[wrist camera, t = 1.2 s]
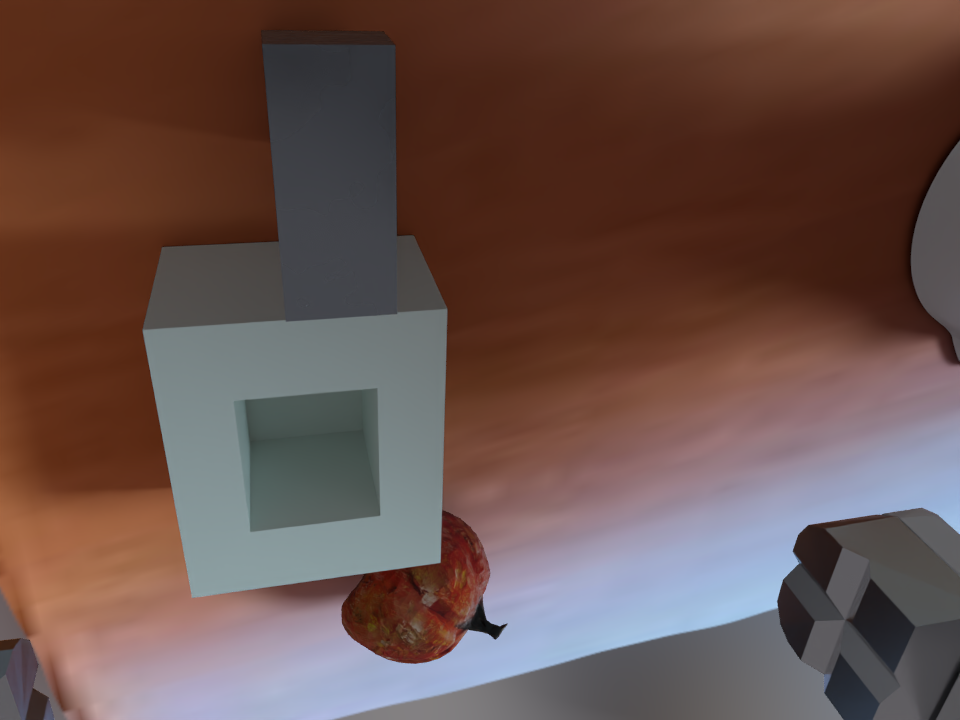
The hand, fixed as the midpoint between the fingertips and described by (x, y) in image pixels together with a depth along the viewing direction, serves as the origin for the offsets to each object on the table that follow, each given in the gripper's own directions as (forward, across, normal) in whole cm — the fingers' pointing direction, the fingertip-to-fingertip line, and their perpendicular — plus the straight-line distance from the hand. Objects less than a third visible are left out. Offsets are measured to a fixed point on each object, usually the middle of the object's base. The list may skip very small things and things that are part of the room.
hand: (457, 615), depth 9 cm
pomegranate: (+26, -4, +23) cm, 35 cm away
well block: (+26, 0, +12) cm, 29 cm away
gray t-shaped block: (+26, 0, 0) cm, 26 cm away
